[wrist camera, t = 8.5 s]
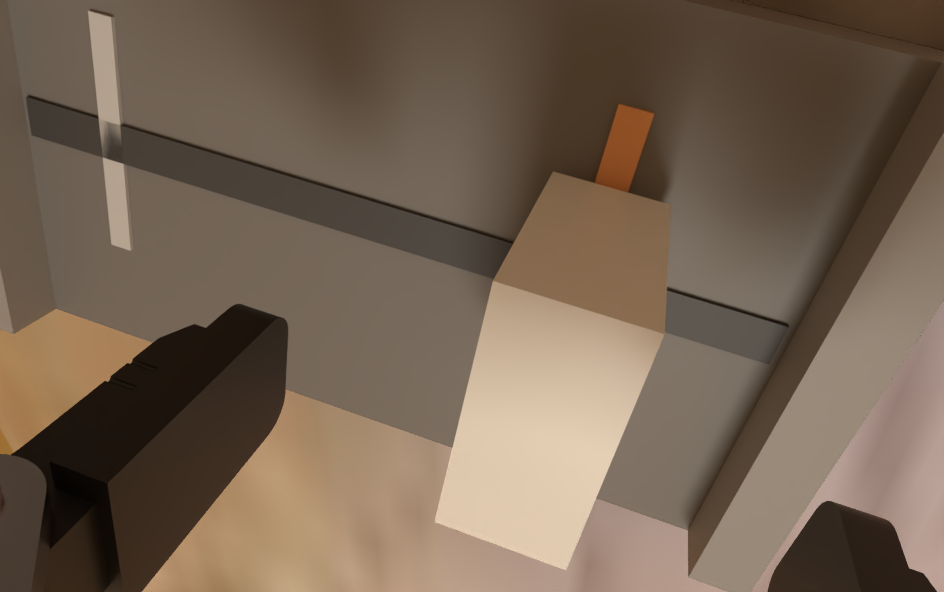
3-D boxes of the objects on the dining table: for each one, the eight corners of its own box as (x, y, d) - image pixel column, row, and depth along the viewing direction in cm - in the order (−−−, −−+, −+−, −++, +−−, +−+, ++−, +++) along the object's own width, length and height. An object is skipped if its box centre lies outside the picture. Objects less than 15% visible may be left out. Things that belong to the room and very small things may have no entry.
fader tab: (553, 171, 13) (493, 280, 9) (671, 204, 13) (664, 333, 9) (500, 366, 16) (434, 522, 12) (598, 398, 16) (566, 570, 11)
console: (40, -164, 17) (-151, -193, 13) (965, 55, 14) (1073, 103, 10) (90, 254, 23) (-29, 318, 19) (734, 470, 20) (746, 598, 16)
